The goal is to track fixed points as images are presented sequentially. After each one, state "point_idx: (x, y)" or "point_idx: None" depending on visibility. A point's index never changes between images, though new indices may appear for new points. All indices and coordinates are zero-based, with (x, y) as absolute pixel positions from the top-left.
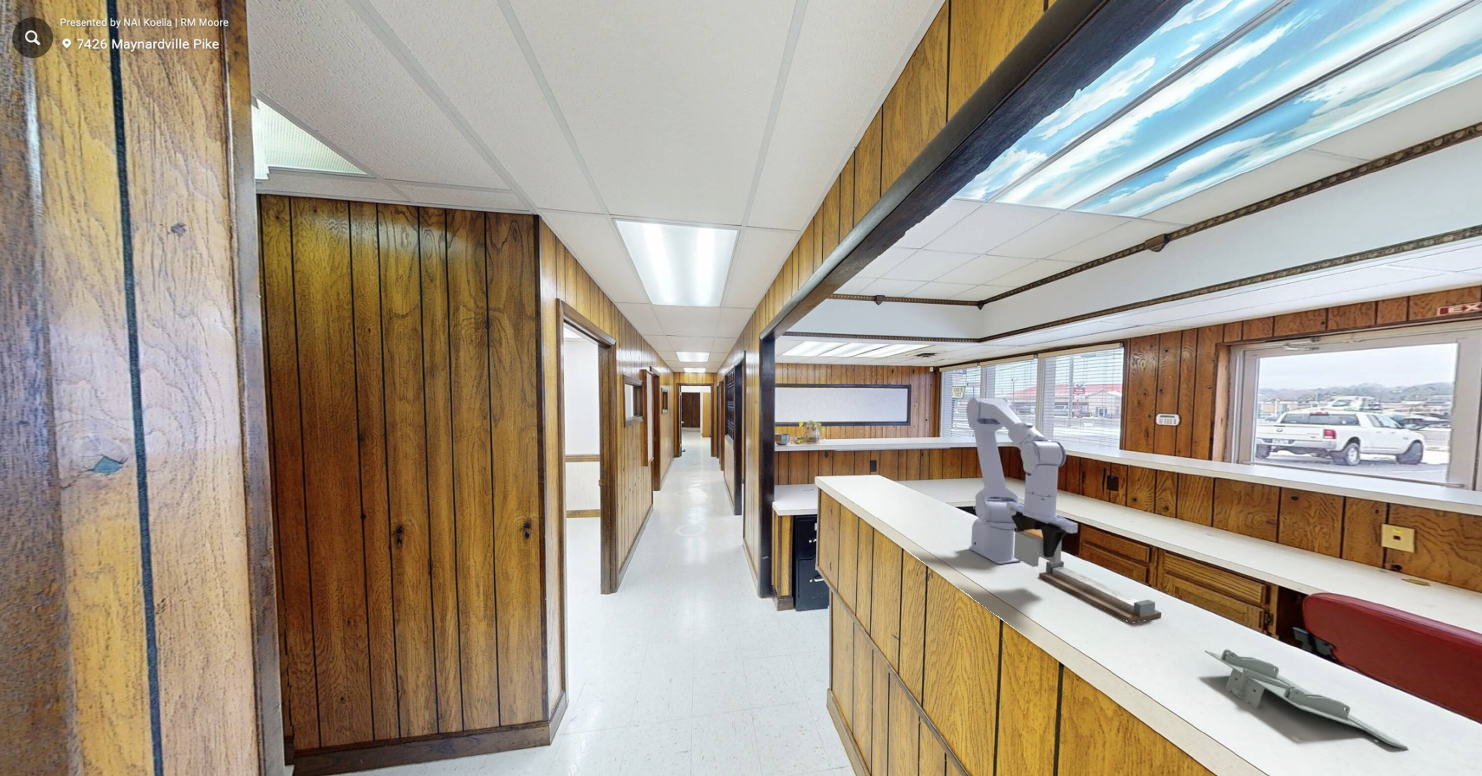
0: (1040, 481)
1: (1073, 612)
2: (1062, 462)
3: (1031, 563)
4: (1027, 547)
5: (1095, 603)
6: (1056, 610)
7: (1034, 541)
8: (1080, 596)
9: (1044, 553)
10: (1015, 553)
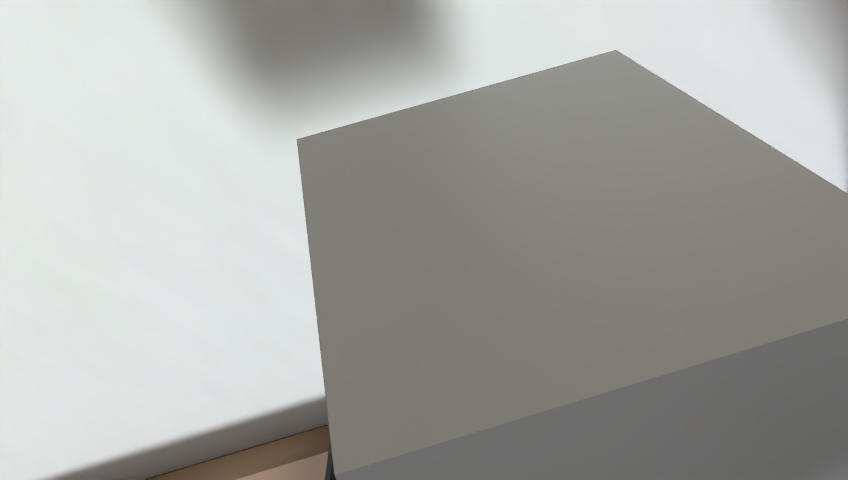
0: None
1: (52, 238)
2: None
3: (327, 151)
4: (466, 245)
5: (201, 476)
6: (52, 104)
7: (334, 454)
8: (302, 441)
9: None
10: (624, 78)
